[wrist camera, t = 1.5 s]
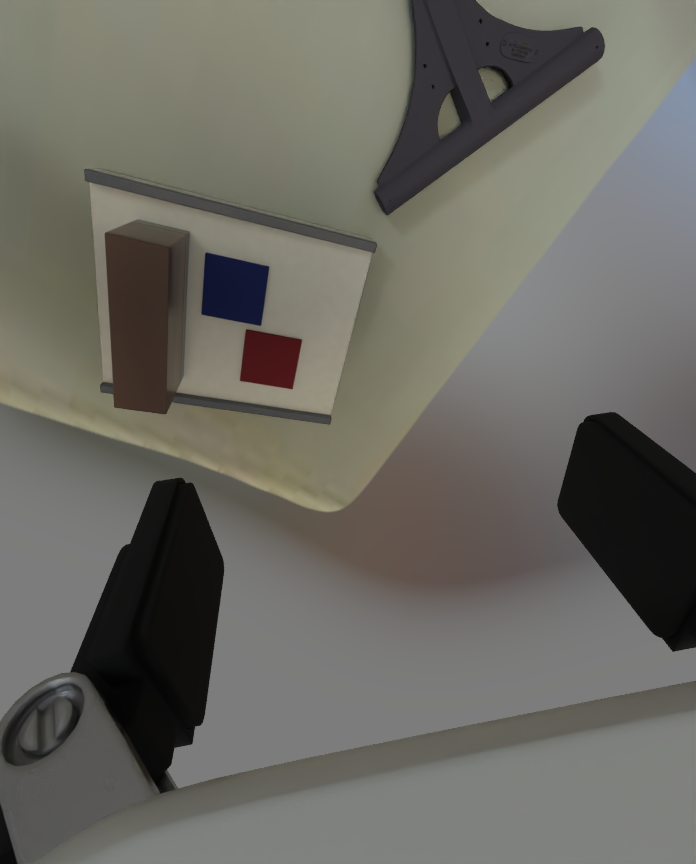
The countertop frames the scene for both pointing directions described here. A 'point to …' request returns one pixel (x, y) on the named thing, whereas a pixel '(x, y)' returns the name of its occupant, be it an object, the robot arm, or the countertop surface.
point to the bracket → (474, 86)
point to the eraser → (147, 313)
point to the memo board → (284, 301)
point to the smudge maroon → (270, 359)
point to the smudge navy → (234, 289)
